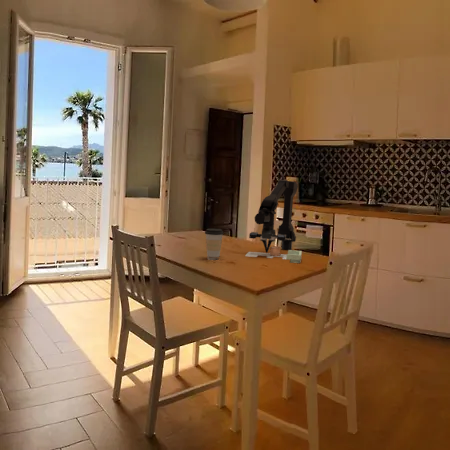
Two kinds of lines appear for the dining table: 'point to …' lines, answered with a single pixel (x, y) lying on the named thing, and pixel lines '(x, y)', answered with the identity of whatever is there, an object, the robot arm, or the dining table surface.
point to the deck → (292, 255)
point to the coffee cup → (213, 243)
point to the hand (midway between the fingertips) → (266, 252)
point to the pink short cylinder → (274, 251)
